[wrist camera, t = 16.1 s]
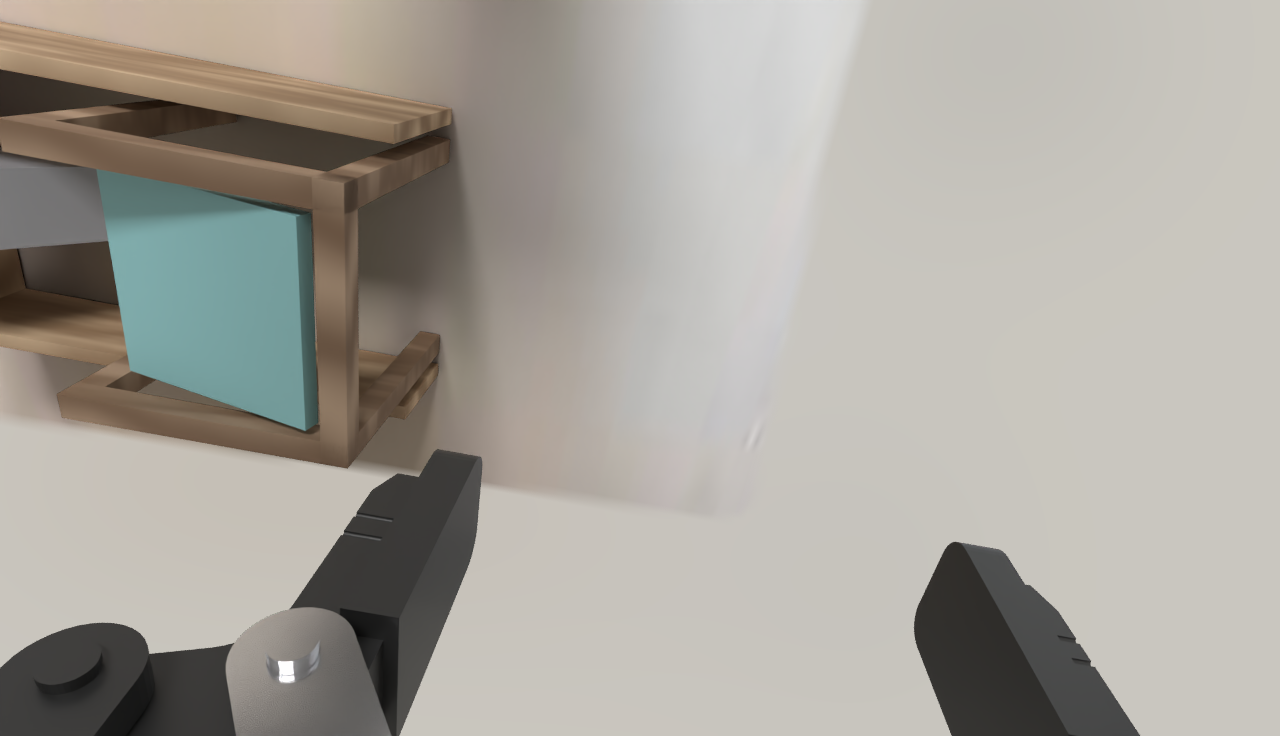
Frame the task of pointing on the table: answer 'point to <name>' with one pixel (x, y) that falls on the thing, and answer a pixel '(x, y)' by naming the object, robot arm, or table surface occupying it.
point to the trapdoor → (215, 293)
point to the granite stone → (48, 203)
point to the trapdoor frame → (208, 96)
